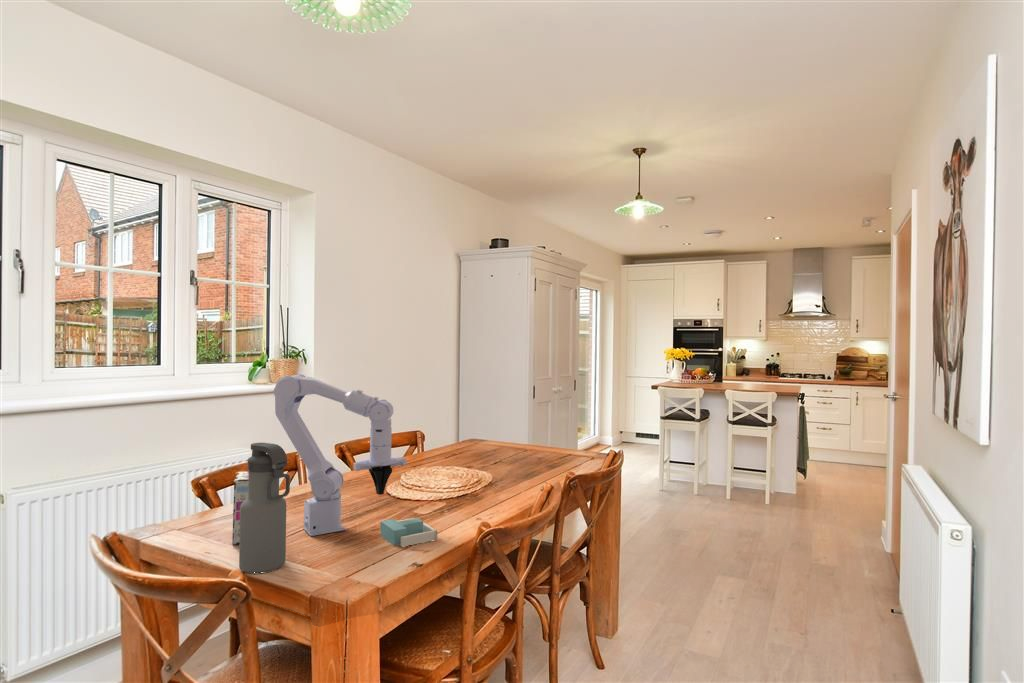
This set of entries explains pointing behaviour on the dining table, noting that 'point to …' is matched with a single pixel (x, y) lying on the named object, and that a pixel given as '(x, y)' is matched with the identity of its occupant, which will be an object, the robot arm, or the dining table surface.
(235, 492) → the candy bar box
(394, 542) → the t block
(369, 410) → the robot arm
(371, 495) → the dining table surface
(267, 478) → the water bottle
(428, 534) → the white u-shaped bracket
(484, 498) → the dining table surface
